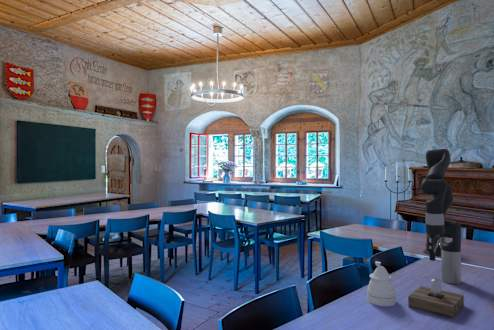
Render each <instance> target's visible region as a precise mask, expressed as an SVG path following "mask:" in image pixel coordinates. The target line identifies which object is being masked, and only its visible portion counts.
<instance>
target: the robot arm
mask: <svg viewBox="0 0 494 330" xmlns="http://www.w3.org/2000/svg"><path fill="white" fill-rule="evenodd" d="M425 152H426V153H425V160H426V161H425V162H426V165H427V169H428V173H427V175H426V177H425V178H424V179H422V181H421V184H420V190H421V192H422V194H424V195H426V196H427V195H429V196H432V197H433V199H429V200H426V201H425V218H424V219H425V234H426V233H428V234H430V237H429V238H427V251H429V255H428V256H429V260H430V261H433V262H435V261H436V257H437V258H441V282H445V283H448V284H453V285H459V284H462V254H461V253H462V252H461V251H462V249H461V247H462V225H461V223H460V222H458V221H452V220H446V214H447V211H448V210H449V208H450V207H451V205H452V203H453V202H454V201H453V200H454V195H453V189H452V187H451V186H450V184H449V183H448V182H447V181H446V180H445V175H446V172H447V170H448V168H449V166H450V164H451V153H450V151H449V150H448V149H447V148H438V149H436V148H435V149H429V150H427V151H425ZM442 237H445V238H448V239H452V240H451V241H450V242H447V243H444V244H443V241H442ZM431 248H432V249H431ZM441 255H442V256H441Z"/></svg>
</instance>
